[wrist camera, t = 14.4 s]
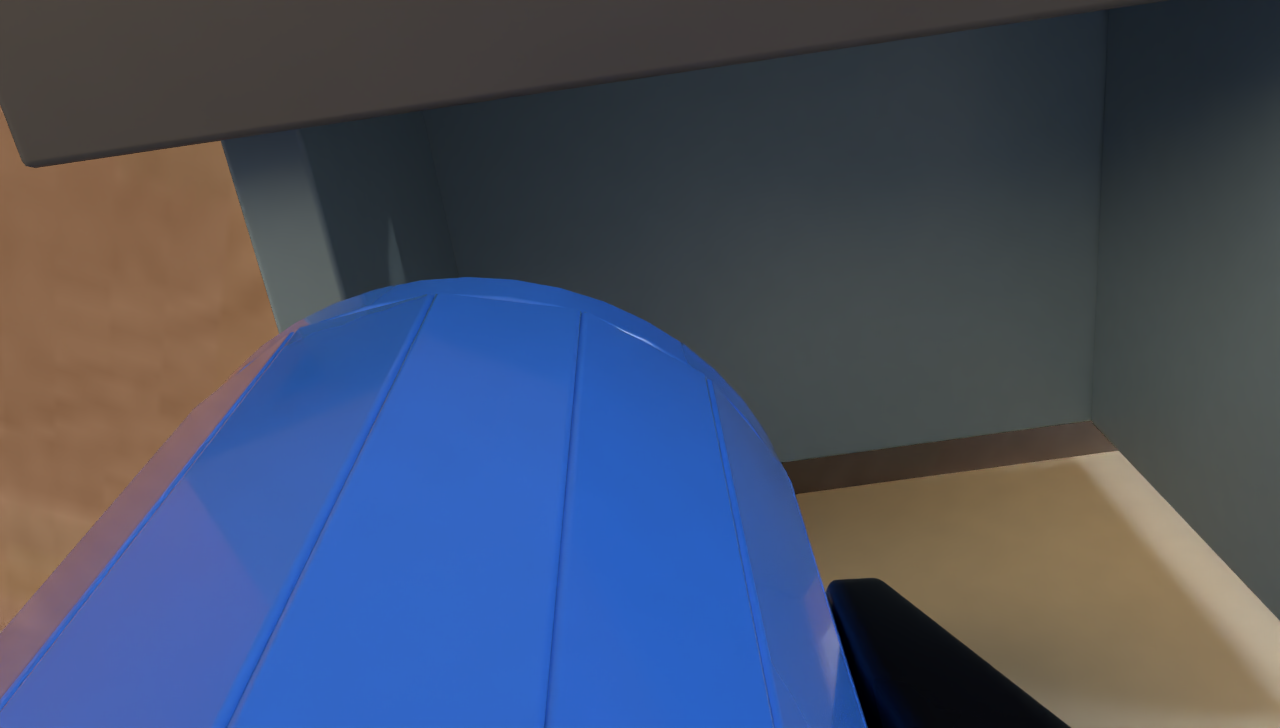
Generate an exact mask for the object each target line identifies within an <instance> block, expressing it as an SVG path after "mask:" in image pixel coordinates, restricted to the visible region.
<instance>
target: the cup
mask: <svg viewBox="0 0 1280 728" xmlns="http://www.w3.org/2000/svg"><path fill="white" fill-rule="evenodd" d="M0 728H868V727H867V724H866V721H865V717H864V714H863V711H862V708H861V704H860V701H859V698H858V695H857V691H856V688H855V685H854V682H853V678H852V675H851V672H850V669H849V666H848V662H847V659H846V656H845V653H844V649H843V646H842V643H841V640H840V636H839V633H838V630H837V627H836V624H835V620H834V617H833V614H832V611H831V607H830V604H829V601H828V598H827V594H826V591H825V588H824V585H823V582H822V578H821V575H820V572H819V569H818V565H817V562H816V559H815V556H814V552H813V549H812V546H811V543H810V540H809V536H808V533H807V530H806V527H805V523H804V520H803V517H802V514H801V510H800V507H799V504H798V501H797V497H796V494H795V491H794V488H793V485H792V481H791V480H790V479H789V477H788V474H787V471H786V470H785V469H784V468H783V465H782V463H781V461H780V459H779V457H778V455H777V453H776V451H775V449H774V447H773V445H772V443H771V441H770V439H769V437H768V435H767V433H766V432H765V430H764V429H763V427H762V426H761V425H760V423H759V422H758V420H757V419H756V417H755V416H754V415H753V413H752V412H751V410H750V409H749V407H748V406H747V404H746V403H745V402H744V400H743V399H742V398H741V397H740V396H739V395H738V394H737V393H736V392H735V391H734V389H733V388H732V387H731V386H730V385H729V384H728V383H727V382H726V381H725V380H724V379H723V378H722V377H721V376H720V374H719V373H718V372H717V371H716V370H715V369H713V368H712V367H711V366H710V365H709V364H707V363H706V362H705V361H704V360H702V359H701V358H700V357H699V356H698V355H696V354H695V353H694V352H693V351H691V350H690V349H689V348H688V347H687V346H685V345H684V344H683V343H681V342H680V341H678V340H676V339H675V338H673V337H672V336H670V335H668V334H667V333H665V332H663V331H662V330H660V329H659V328H657V327H655V326H654V325H652V324H651V323H649V322H647V321H646V320H644V319H641V318H639V317H637V316H635V315H633V314H630V313H628V312H626V311H624V310H622V309H619V308H617V307H615V306H613V305H611V304H608V303H606V302H604V301H601V300H597V299H594V298H591V297H588V296H585V295H581V294H578V293H575V292H572V291H569V290H565V289H562V288H558V287H552V286H547V285H541V284H536V283H530V282H525V281H519V280H511V279H493V278H476V277H462V278H447V279H433V280H420V281H415V282H410V283H405V284H400V285H395V286H390V287H385V288H380V289H376V290H373V291H370V292H367V293H364V294H361V295H358V296H355V297H352V298H349V299H346V300H343V301H340V302H337V303H334V304H332V305H330V306H328V307H326V308H324V309H322V310H320V311H318V312H316V313H314V314H312V315H310V316H308V317H306V318H304V319H302V320H300V321H298V322H296V323H294V324H293V325H292V326H290V327H289V328H287V329H286V330H284V331H283V332H281V333H280V334H278V335H277V336H276V337H274V338H273V339H271V340H270V341H268V342H267V343H265V344H264V345H262V346H261V347H260V348H259V349H258V350H257V351H256V352H255V353H253V354H252V355H251V356H250V357H249V358H248V359H247V360H246V361H245V362H244V363H243V364H242V365H241V366H240V367H238V368H237V369H236V370H235V371H234V372H233V373H232V374H231V375H230V376H229V377H228V379H227V380H226V381H225V382H224V383H223V385H222V386H221V387H220V388H219V389H218V390H216V391H215V392H214V393H213V394H211V395H210V396H209V397H208V398H206V399H205V400H204V401H203V402H201V403H200V404H199V405H198V406H196V407H195V408H194V409H193V410H192V411H191V413H190V414H189V415H188V416H187V417H186V418H185V420H184V421H183V422H182V423H181V424H180V425H179V427H178V428H177V429H176V430H175V431H174V432H173V434H172V435H171V436H170V437H169V438H168V439H167V441H166V442H165V443H164V444H163V445H162V446H161V447H160V449H159V450H158V451H157V452H156V453H155V454H154V456H153V457H152V458H151V459H150V460H149V461H148V463H147V464H146V465H145V466H144V467H143V468H142V470H141V471H140V472H139V473H138V474H137V475H136V477H135V478H134V479H133V480H132V481H131V482H130V483H129V485H128V486H127V487H126V488H125V489H124V490H123V492H122V493H121V494H120V495H119V496H118V497H117V499H116V500H115V501H114V502H113V503H112V504H111V506H110V507H109V508H108V509H107V510H106V511H105V513H104V514H103V515H102V516H101V517H100V518H99V520H98V521H97V522H96V523H95V524H94V525H93V526H92V528H91V529H90V530H89V531H88V532H87V533H86V535H85V536H84V537H83V538H82V539H81V540H80V542H79V543H78V544H77V545H76V546H75V547H74V549H73V550H72V551H71V552H70V553H69V554H68V556H67V557H66V558H65V559H64V560H63V561H62V562H61V564H60V565H59V566H58V567H57V568H56V569H55V571H54V572H53V573H52V574H51V575H50V576H49V578H48V579H47V580H46V581H45V582H44V583H43V585H42V586H41V587H40V588H39V589H38V590H37V592H36V593H35V594H34V595H33V596H32V597H31V598H30V600H29V601H28V602H27V603H26V604H25V605H24V607H23V608H22V609H21V610H20V611H19V612H18V614H17V615H16V616H15V617H14V618H13V619H12V621H11V622H10V623H9V624H8V625H7V626H6V628H5V629H4V630H3V631H2V632H1V633H0Z"/></svg>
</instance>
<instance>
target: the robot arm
mask: <svg viewBox="0 0 1280 728" xmlns="http://www.w3.org/2000/svg"><path fill="white" fill-rule="evenodd" d="M826 594H827V598H828V601H829V604H830V607H831V611H832V614H833V617H834V620H835V624H836V627H837V630H838V633H839V636H840V640H841V643H842V646H843V649H844V653H845V656H846V659H847V662H848V666H849V669H850V672H851V675H852V678H853V682H854V685H855V688H856V691H857V695H858V698H859V701H860V704H861V708H862V711H863V714H864V717H865V721H866V724H867V727H868V728H1071V727H1070V726H1069V725H1067V724H1066V723H1065V722H1063V721H1062V720H1061V719H1060V718H1058V717H1057V716H1056V715H1055V714H1053V713H1052V712H1051V711H1049V710H1048V709H1047V708H1046V707H1044V706H1043V705H1042V704H1040V703H1039V702H1038V701H1037V700H1035V699H1034V698H1033V697H1031V696H1030V695H1029V694H1028V693H1026V692H1025V691H1024V690H1022V689H1021V688H1020V687H1019V686H1017V685H1016V684H1015V683H1013V682H1012V681H1011V680H1010V679H1008V678H1007V677H1006V676H1004V675H1003V674H1002V673H1001V672H999V671H998V670H997V669H995V668H994V667H993V666H992V665H990V664H989V663H988V662H986V661H985V660H984V659H983V658H981V657H980V656H979V655H978V654H976V653H975V652H974V651H972V650H971V649H970V648H969V647H967V646H966V645H965V644H963V643H962V642H961V641H960V640H958V639H957V638H956V637H954V636H953V635H952V634H951V633H949V632H948V631H947V630H945V629H944V628H943V627H942V626H940V625H939V624H938V623H936V622H935V621H934V620H933V619H931V618H930V617H929V616H927V615H926V614H925V613H924V612H922V611H921V610H920V609H918V608H917V607H916V606H915V605H913V604H912V603H911V602H909V601H908V600H907V599H906V598H904V597H903V596H902V595H900V594H899V593H898V592H897V591H895V590H894V589H893V588H892V587H890V586H889V585H888V584H886V583H885V582H883V581H882V580H880V579H877V578H859V579H839V580H833V581H832V582H830V584H829V585H828V587H827V590H826Z"/></svg>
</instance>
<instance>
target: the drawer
mask: <svg viewBox="0 0 1280 728" xmlns="http://www.w3.org/2000/svg"><path fill="white" fill-rule="evenodd" d="M221 143H222V146H223V149H224V153H225V156H226V159H227V163H228V166H229V169H230V173H231V176H232V179H233V182H234V186H235V189H236V192H237V196H238V199H239V202H240V205H241V209H242V212H243V215H244V219H245V222H246V225H247V229H248V232H249V235H250V238H251V242H252V245H253V248H254V252H255V255H256V258H257V261H258V265H259V268H260V271H261V275H262V278H263V281H264V284H265V288H266V291H267V294H268V298H269V301H270V304H271V308H272V311H273V314H274V317H275V321H276V324H277V327H278V331H279V334H280V333H281V332H283V331H284V330H286V329H287V328H289V327H290V326H292V325H293V324H294V323H296V322H298V321H300V320H302V319H304V318H306V317H308V316H310V315H312V314H314V313H316V312H318V311H320V310H322V309H324V308H326V307H328V306H330V305H332V304H334V303H337V302H340V301H343V300H346V299H349V298H352V297H355V296H358V295H361V294H364V293H367V292H370V291H373V290H376V289H380V288H385V287H390V286H395V285H400V284H405V283H410V282H415V281H420V280H433V279H447V278H462V277H476V278H493V279H511V280H519V281H525V282H530V283H536V284H541V285H547V286H552V287H558V288H562V289H565V290H569V291H572V292H575V293H578V294H581V295H585V296H588V297H591V298H594V299H597V300H601V301H604V302H606V303H608V304H611V305H613V306H615V307H617V308H619V309H622V310H624V311H626V312H628V313H630V314H633V315H635V316H637V317H639V318H641V319H644V320H646V321H647V322H649V323H651V324H652V325H654V326H655V327H657V328H659V329H660V330H662V331H663V332H665V333H667V334H668V335H670V336H672V337H673V338H675V339H676V340H678V341H680V342H681V343H683V344H684V345H685V346H687V347H688V348H689V349H690V350H691V351H693V352H694V353H695V354H696V355H698V356H699V357H700V358H701V359H702V360H704V361H705V362H706V363H707V364H709V365H710V366H711V367H712V368H713V369H715V370H716V371H717V372H718V373H719V374H720V376H721V377H722V378H723V379H724V380H725V381H726V382H727V383H728V384H729V385H730V386H731V387H732V388H733V389H734V391H735V392H736V393H737V394H738V395H739V396H740V397H741V398H742V399H743V400H744V402H745V403H746V404H747V406H748V407H749V409H750V410H751V412H752V413H753V415H754V416H755V417H756V419H757V420H758V422H759V423H760V425H761V426H762V427H763V429H764V430H765V432H766V433H767V435H768V437H769V439H770V441H771V443H772V445H773V447H774V449H775V451H776V453H777V455H778V457H779V459H780V461H781V463H783V462H791V461H798V460H806V459H813V458H820V457H828V456H835V455H842V454H850V453H857V452H864V451H872V450H879V449H887V448H894V447H901V446H909V445H916V444H923V443H931V442H938V441H945V440H953V439H960V438H968V437H975V436H982V435H990V434H997V433H1004V432H1012V431H1019V430H1026V429H1034V428H1041V427H1049V426H1056V425H1063V424H1071V423H1078V422H1085V421H1092V422H1093V424H1094V425H1095V426H1096V427H1097V428H1098V429H1099V430H1100V432H1101V433H1102V434H1103V435H1104V436H1105V437H1106V438H1107V439H1108V440H1109V441H1110V442H1111V443H1112V444H1113V445H1114V446H1115V447H1116V448H1117V449H1118V451H1112V452H1105V453H1097V454H1090V455H1083V456H1075V457H1068V458H1060V459H1053V460H1046V461H1038V462H1031V463H1023V464H1016V465H1008V466H1001V467H994V468H986V469H979V470H971V471H964V472H957V473H949V474H942V475H934V476H927V477H919V478H912V479H905V480H897V481H890V482H882V483H875V484H867V485H860V486H853V487H845V488H838V489H830V490H823V491H816V492H808V493H801V494H796V497H797V501H798V504H799V507H800V510H801V514H802V517H803V520H804V523H805V527H806V530H807V533H808V536H809V540H810V543H811V546H812V549H813V552H814V556H815V559H816V562H817V565H818V569H819V572H820V575H821V578H822V582H823V585H824V588H825V591H826V590H827V587H828V585H829V584H830V582H832V581H833V580H839V579H859V578H877V579H880V580H882V581H883V582H885V583H886V584H888V585H889V586H890V587H892V588H893V589H894V590H895V591H897V592H898V593H899V594H900V595H902V596H903V597H904V598H906V599H907V600H908V601H909V602H911V603H912V604H913V605H915V606H916V607H917V608H918V609H920V610H921V611H922V612H924V613H925V614H926V615H927V616H929V617H930V618H931V619H933V620H934V621H935V622H936V623H938V624H939V625H940V626H942V627H943V628H944V629H945V630H947V631H948V632H949V633H951V634H952V635H953V636H954V637H956V638H957V639H958V640H960V641H961V642H962V643H963V644H965V645H966V646H967V647H969V648H970V649H971V650H972V651H974V652H975V653H976V654H978V655H979V656H980V657H981V658H983V659H984V660H985V661H986V662H988V663H989V664H990V665H992V666H993V667H994V668H995V669H997V670H998V671H999V672H1001V673H1002V674H1003V675H1004V676H1006V677H1007V678H1008V679H1010V680H1011V681H1012V682H1013V683H1015V684H1016V685H1017V686H1019V687H1020V688H1021V689H1022V690H1024V691H1025V692H1026V693H1028V694H1029V695H1030V696H1031V697H1033V698H1034V699H1035V700H1037V701H1038V702H1039V703H1040V704H1042V705H1043V706H1044V707H1046V708H1047V709H1048V710H1049V711H1051V712H1052V713H1053V714H1055V715H1056V716H1057V717H1058V718H1060V719H1061V720H1062V721H1063V722H1065V723H1066V724H1067V725H1069V726H1070V727H1071V728H1280V0H1169V1H1162V2H1155V3H1149V4H1142V5H1135V6H1128V7H1122V8H1115V9H1108V10H1101V11H1094V12H1088V13H1081V14H1074V15H1067V16H1061V17H1054V18H1047V19H1040V20H1033V21H1027V22H1020V23H1013V24H1006V25H1000V26H993V27H986V28H979V29H973V30H966V31H959V32H952V33H945V34H939V35H932V36H925V37H918V38H912V39H905V40H898V41H891V42H884V43H878V44H871V45H864V46H857V47H851V48H844V49H837V50H830V51H823V52H817V53H810V54H803V55H796V56H790V57H783V58H776V59H769V60H763V61H756V62H749V63H742V64H735V65H729V66H722V67H715V68H708V69H702V70H695V71H688V72H681V73H674V74H668V75H661V76H654V77H647V78H641V79H634V80H627V81H620V82H613V83H607V84H600V85H593V86H586V87H580V88H573V89H566V90H559V91H553V92H546V93H539V94H532V95H525V96H519V97H512V98H505V99H498V100H492V101H485V102H478V103H471V104H464V105H458V106H451V107H444V108H437V109H431V110H424V111H417V112H410V113H404V114H397V115H390V116H383V117H376V118H370V119H363V120H356V121H349V122H343V123H336V124H329V125H322V126H315V127H309V128H302V129H295V130H288V131H282V132H275V133H268V134H261V135H254V136H248V137H241V138H234V139H227V140H221Z"/></svg>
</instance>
